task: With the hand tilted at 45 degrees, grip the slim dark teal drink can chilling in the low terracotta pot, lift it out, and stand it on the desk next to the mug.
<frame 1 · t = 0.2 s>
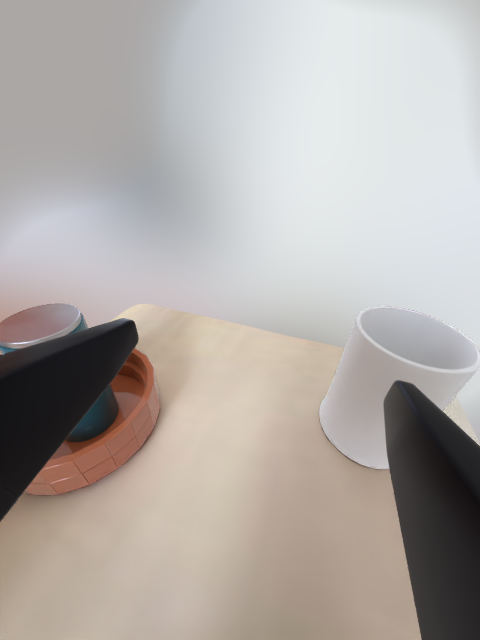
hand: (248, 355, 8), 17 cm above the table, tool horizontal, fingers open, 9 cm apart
can: (90, 416, 23), point 1 cm above the table, touching pot
mug: (360, 413, 26), on the table
pot: (92, 420, 24), on the table
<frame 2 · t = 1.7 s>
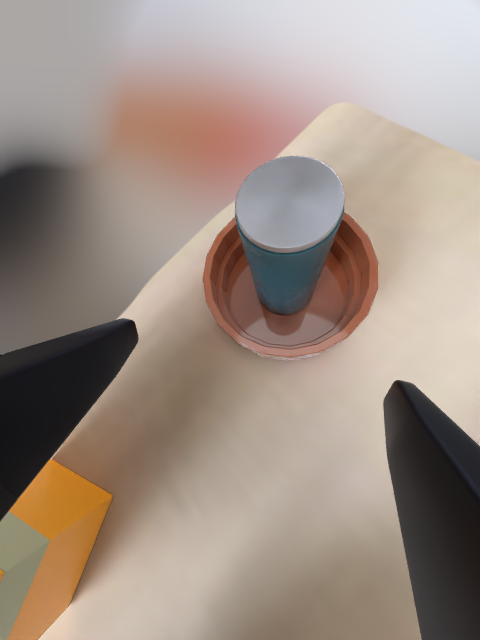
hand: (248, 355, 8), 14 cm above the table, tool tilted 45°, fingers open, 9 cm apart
can: (284, 288, 22), point 1 cm above the table, touching pot
orange juice: (61, 525, 21), on the table
pot: (284, 290, 22), on the table
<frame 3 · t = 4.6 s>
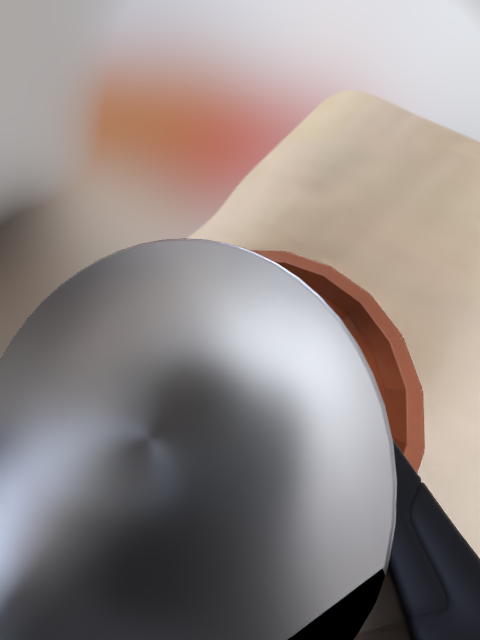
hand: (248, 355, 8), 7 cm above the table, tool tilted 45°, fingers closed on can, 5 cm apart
can: (256, 387, 14), point 1 cm above the table, touching gripper, pot
pot: (257, 387, 14), on the table
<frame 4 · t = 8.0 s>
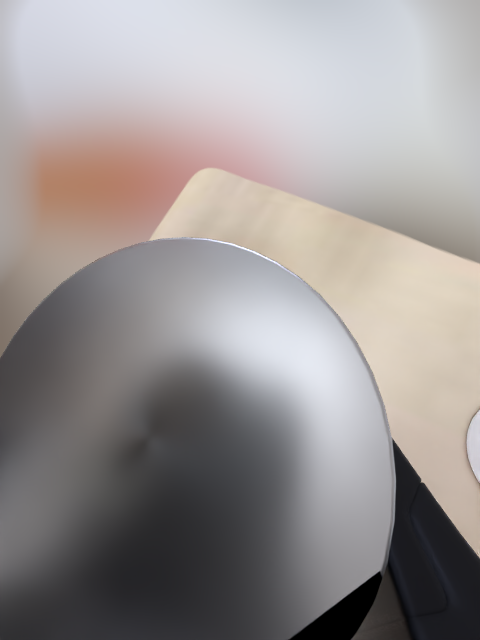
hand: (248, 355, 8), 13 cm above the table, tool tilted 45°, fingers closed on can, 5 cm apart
can: (256, 387, 14), point 7 cm above the table, touching gripper
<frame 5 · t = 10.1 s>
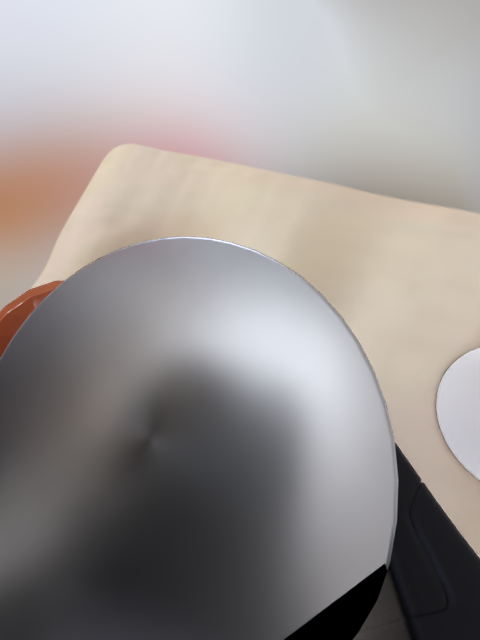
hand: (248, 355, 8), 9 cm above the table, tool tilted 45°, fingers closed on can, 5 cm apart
can: (256, 387, 14), point 3 cm above the table, touching gripper
pot: (100, 380, 18), on the table
when the fingers open (6 cm above the table, at t = 11.4 s): can stays where it is, on the table.
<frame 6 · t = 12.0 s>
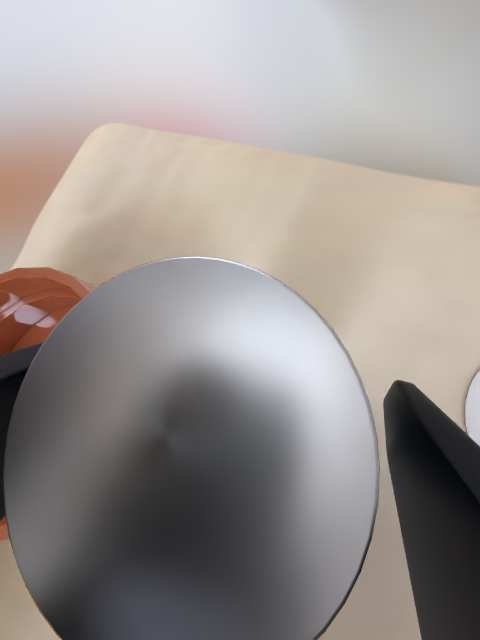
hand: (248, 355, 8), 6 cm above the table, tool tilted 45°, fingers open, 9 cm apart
can: (257, 388, 14), on the table
pot: (74, 384, 16), on the table
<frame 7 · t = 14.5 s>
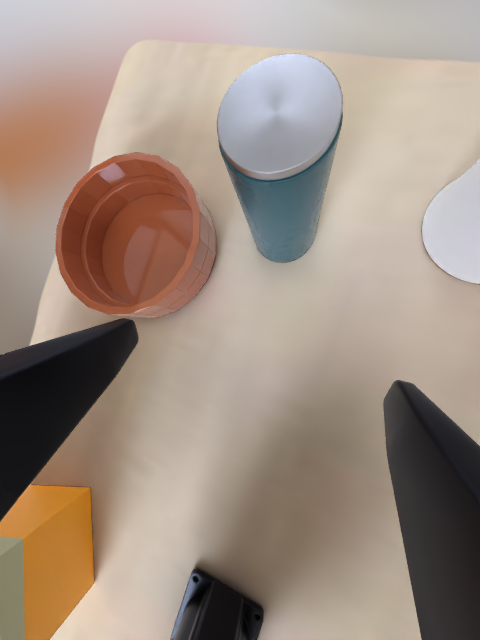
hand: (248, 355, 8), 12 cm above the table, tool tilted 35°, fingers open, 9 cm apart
can: (283, 233, 21), on the table
orange juice: (62, 530, 24), on the table
pot: (154, 251, 23), on the table
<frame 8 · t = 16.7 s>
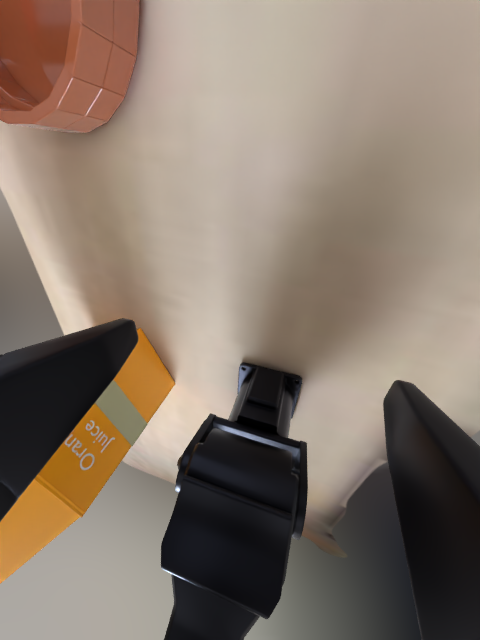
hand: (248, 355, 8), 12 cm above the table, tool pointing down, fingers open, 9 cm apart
orange juice: (138, 359, 30), on the table
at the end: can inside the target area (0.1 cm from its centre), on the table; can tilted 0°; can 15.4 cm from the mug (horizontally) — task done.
